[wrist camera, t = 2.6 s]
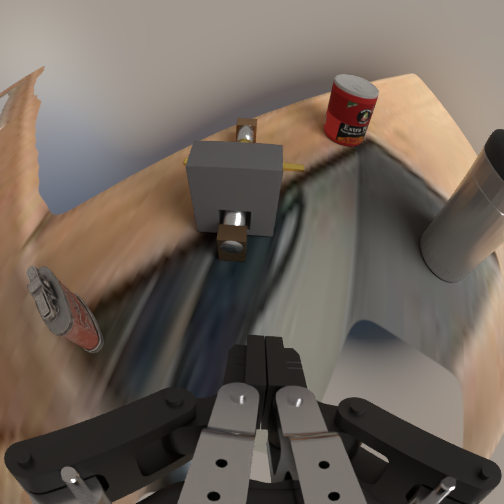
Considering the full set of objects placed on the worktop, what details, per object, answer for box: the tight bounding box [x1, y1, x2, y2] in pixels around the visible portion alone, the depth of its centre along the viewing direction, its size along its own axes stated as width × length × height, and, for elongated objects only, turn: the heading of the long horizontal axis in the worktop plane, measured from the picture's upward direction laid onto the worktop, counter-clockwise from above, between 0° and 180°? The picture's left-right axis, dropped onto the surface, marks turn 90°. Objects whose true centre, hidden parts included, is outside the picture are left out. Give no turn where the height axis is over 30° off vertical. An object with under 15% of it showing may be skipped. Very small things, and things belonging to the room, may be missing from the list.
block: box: [186, 141, 283, 237], centre depth 31 cm, size 4×9×11 cm, turn 86°
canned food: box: [324, 74, 379, 146], centre depth 43 cm, size 8×8×11 cm
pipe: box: [184, 118, 304, 262], centre depth 37 cm, size 23×18×4 cm
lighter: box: [27, 265, 104, 353], centre depth 24 cm, size 8×3×10 cm, turn 43°
